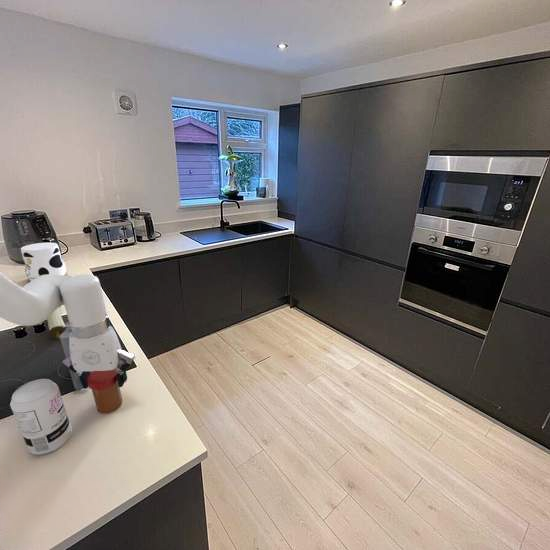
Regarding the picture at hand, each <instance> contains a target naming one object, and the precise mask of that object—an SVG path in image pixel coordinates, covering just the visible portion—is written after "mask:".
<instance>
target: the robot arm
mask: <svg viewBox="0 0 550 550" xmlns="http://www.w3.org/2000/svg"><path fill="white" fill-rule="evenodd" d="M101 286H102V285H101V282H100V279H99V278H98V276H96V275H93V274H88V273H87V274H85V273H84V274H77V275H53V274H47V275H41V276H38V277H36V278H35V279H33V280H32V281H29V282H27V283H26V284H24V285H23V286H22V287H21V286H20V285H18V284H17V283H15V282H13V281H12V280H10V278H8V277H6V276H5V275H4V274H3V273H2V272H1V271H0V318H1V319H3V320H5V321H7V322H9V323H12V324H15V325H18V326H23V327H32V326H37V325H39V324H42V323H43V322H45V321H47V318H48V317H49V316H50V315H51V314H52V313H53V312H54V311H55V310H56V309H57V308H58V307H60V306H61V307H62V306H64V308H65V312H66V315H67V320H68V321H67V322H65V326H66V327H65V329H67V328H71V331H72V333H71V334H70V335H69V348H70V355H69V356H68V357H64V359H63V360H62V364H63V365H65V366H66V367H67V368H68V370H69V369H70V370H72V371H73V372H75V373H76V376H79V377H80V381H81V384H82V386H83V389H82V390H87V389H88V388H89V386H88V381H87V378H88V376H89V375H90V374H91V373H90V371H108V370H113V369H114V370H115V371H116V372H117V375H116V377H117V382H118V386H119V387H120V388H123V386H124V385H125V383H126V382H127V381H128V375H127V369H129V368H130V366H131V364H132V363H133V361H134V359H135V358H136V357H135V356H136V355H134V354H132V353H129V352H127V351H125V350H124V349H122V346H121V344H120V343H121V342H120V339H119V337H118V335H117V333H116V331H115V329H114V327H113V326H111V324H110V321H109V317H108V313H107V308H106V303H105V300H104V296H103V295H104V294H103V290H102V287H101ZM61 307H60V308H61ZM122 359H123V360H125V362H124V361H123V360H122ZM70 370H69V371H70Z"/></svg>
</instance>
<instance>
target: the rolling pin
mask: <svg viewBox="0 0 550 550" xmlns="http://www.w3.org/2000/svg"><path fill="white" fill-rule="evenodd" d="M61 307H62V306H60V307H58V308H57V309H56V310H55V311H54V312H53V313H52V314H51V315H50V316H49V317H48V318H47V319H46V321H47V327H48V330H49V331H48V335H49V337H50V338H51V339H54V340H60V337H59V336H60V335H61V334H62V333H63V332H64V331H65V330H66V329H67V328H66V323H65V322H64V320H63V317H62V314H61Z"/></svg>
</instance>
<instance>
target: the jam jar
mask: <svg viewBox="0 0 550 550" xmlns="http://www.w3.org/2000/svg"><path fill="white" fill-rule="evenodd" d="M91 392H92V395H93V399H94V403H95V407H96V410H97V412H98V413H99V414H102V415H107V414H108V415H109V414H111V413H113V412H116V411H117V410H118V409H119V408H120V407H121V406H122V404H123V396H122V392H121V387H119V386H118V382H116V383H115V384H114V385H112V386H111V387H109V388H106V389H103V390H92V389H91Z"/></svg>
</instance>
